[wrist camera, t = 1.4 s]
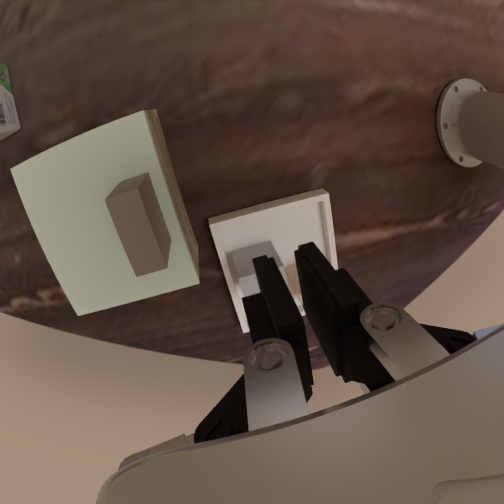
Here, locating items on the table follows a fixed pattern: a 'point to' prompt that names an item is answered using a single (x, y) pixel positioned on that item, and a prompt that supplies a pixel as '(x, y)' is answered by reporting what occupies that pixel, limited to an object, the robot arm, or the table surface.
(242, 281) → the granite block
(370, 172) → the table surface
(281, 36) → the table surface
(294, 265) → the sandstone block
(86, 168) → the sage lid
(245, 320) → the white tray
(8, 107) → the ink box
